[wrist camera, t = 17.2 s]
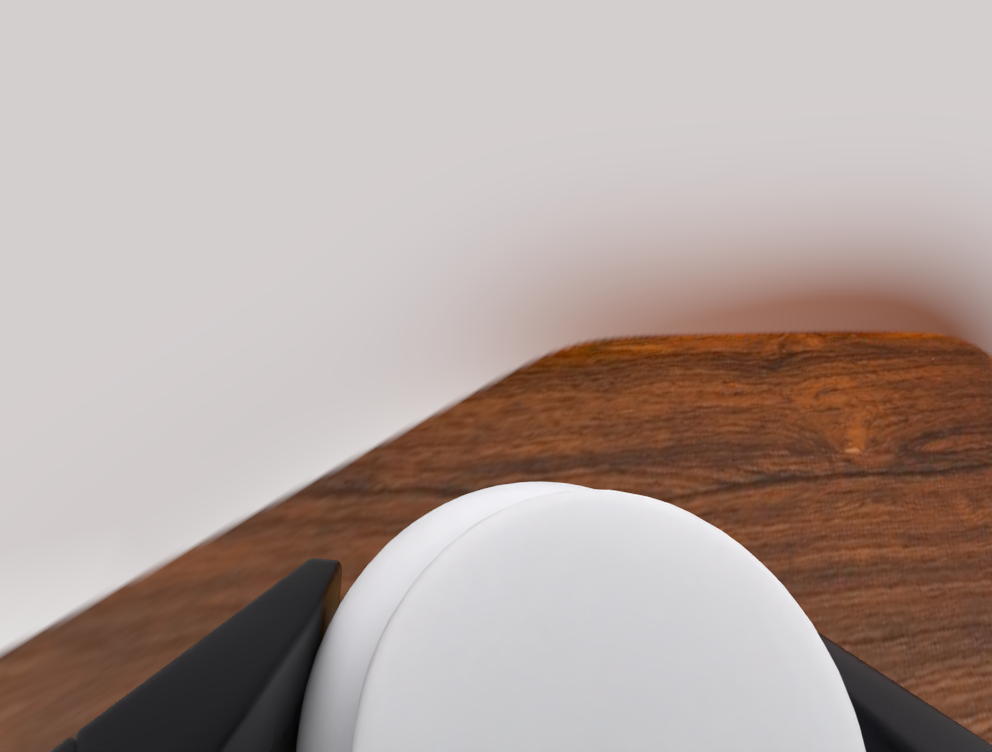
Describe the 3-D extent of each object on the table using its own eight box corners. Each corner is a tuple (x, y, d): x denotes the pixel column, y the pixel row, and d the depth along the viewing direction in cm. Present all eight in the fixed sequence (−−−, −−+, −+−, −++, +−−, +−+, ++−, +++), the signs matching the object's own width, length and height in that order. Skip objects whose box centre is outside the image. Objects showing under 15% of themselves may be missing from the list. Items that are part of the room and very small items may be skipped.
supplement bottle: (549, 542, 15) (750, 343, 6) (639, 783, 13) (1181, 1050, 4) (335, 615, 13) (174, 500, 5) (394, 902, 11) (311, 1809, 2)
